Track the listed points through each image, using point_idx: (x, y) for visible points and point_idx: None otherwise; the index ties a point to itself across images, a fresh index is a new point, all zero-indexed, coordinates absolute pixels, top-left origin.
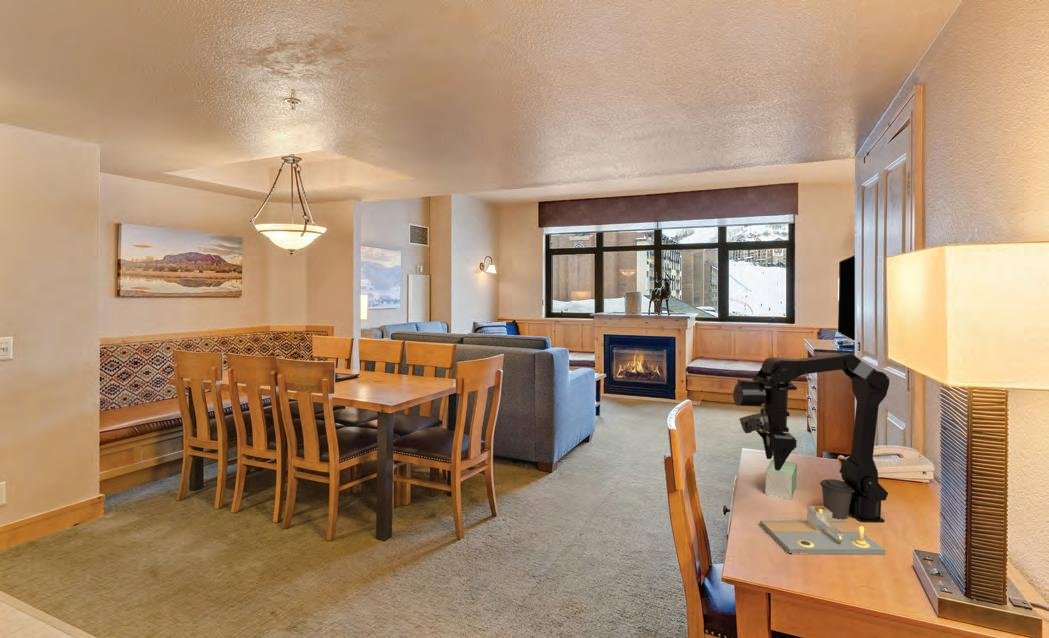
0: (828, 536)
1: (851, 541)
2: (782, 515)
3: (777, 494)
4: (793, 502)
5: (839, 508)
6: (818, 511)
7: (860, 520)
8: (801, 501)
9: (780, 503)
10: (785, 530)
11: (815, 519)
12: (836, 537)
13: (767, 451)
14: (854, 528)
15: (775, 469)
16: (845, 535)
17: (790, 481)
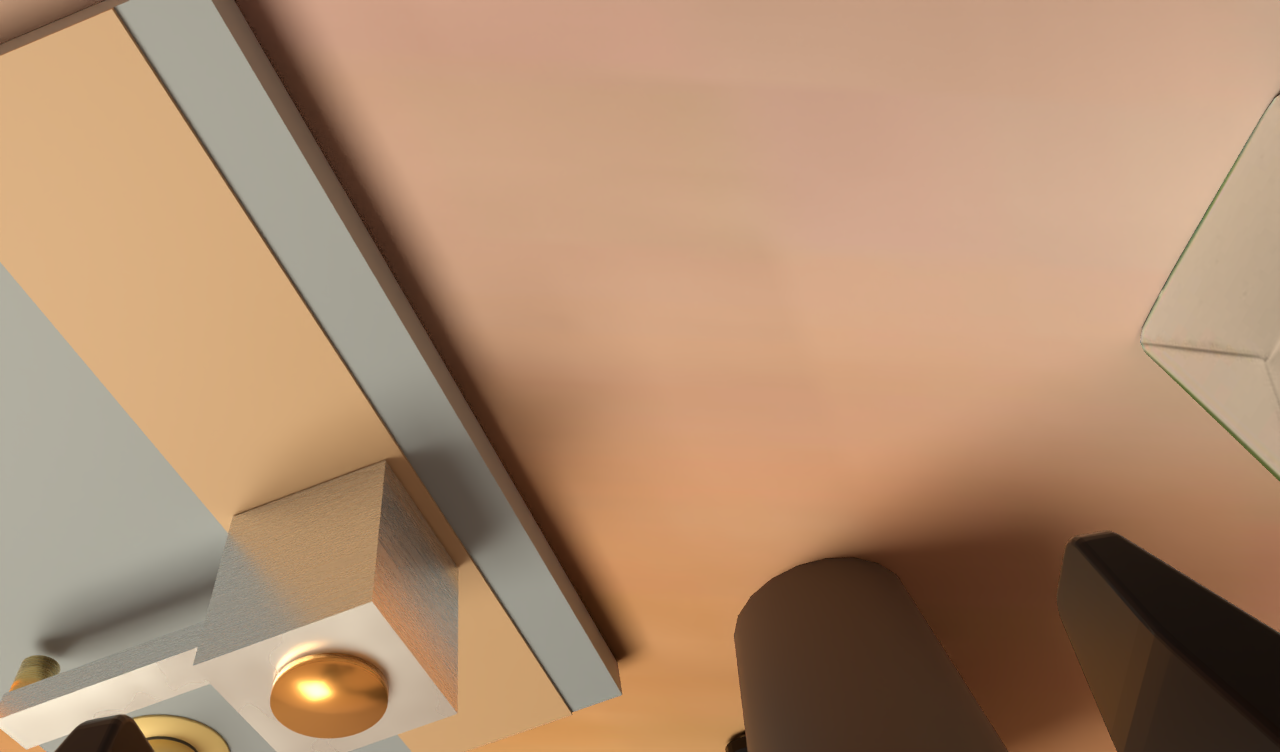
0: (168, 592)
1: (175, 713)
2: (657, 235)
3: (1224, 225)
4: (1060, 352)
5: (744, 720)
6: (254, 681)
7: (729, 748)
8: (1096, 417)
9: (1013, 233)
10: (31, 263)
11: (217, 597)
12: None
13: (1193, 718)
14: (470, 738)
15: (76, 734)
16: None
17: (1273, 450)
